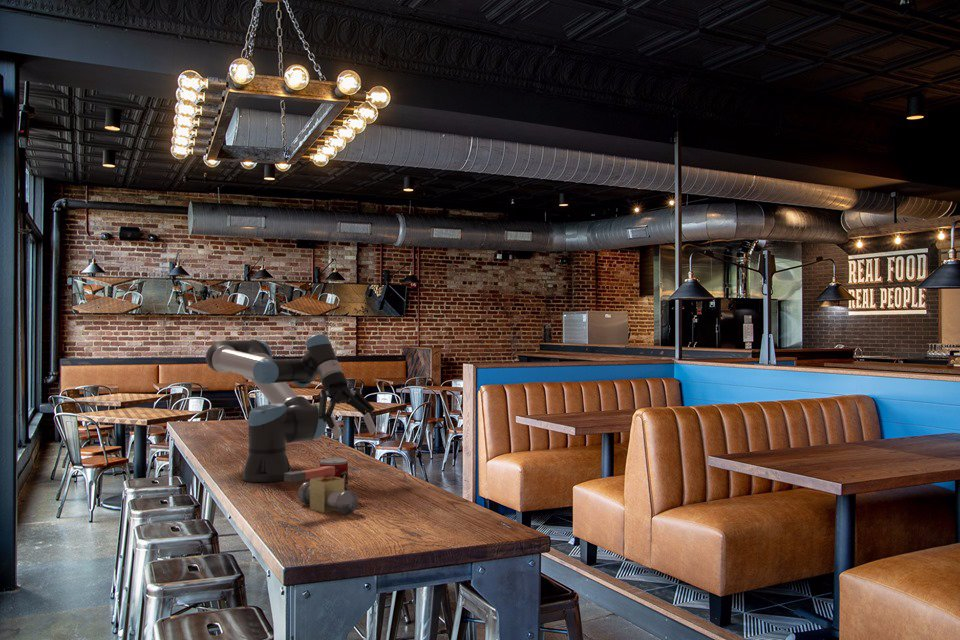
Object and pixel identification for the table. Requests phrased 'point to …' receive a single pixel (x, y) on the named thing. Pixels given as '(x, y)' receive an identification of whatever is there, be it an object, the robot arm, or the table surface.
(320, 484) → the valve pipe
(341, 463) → the canned food
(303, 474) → the lever
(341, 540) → the table surface
